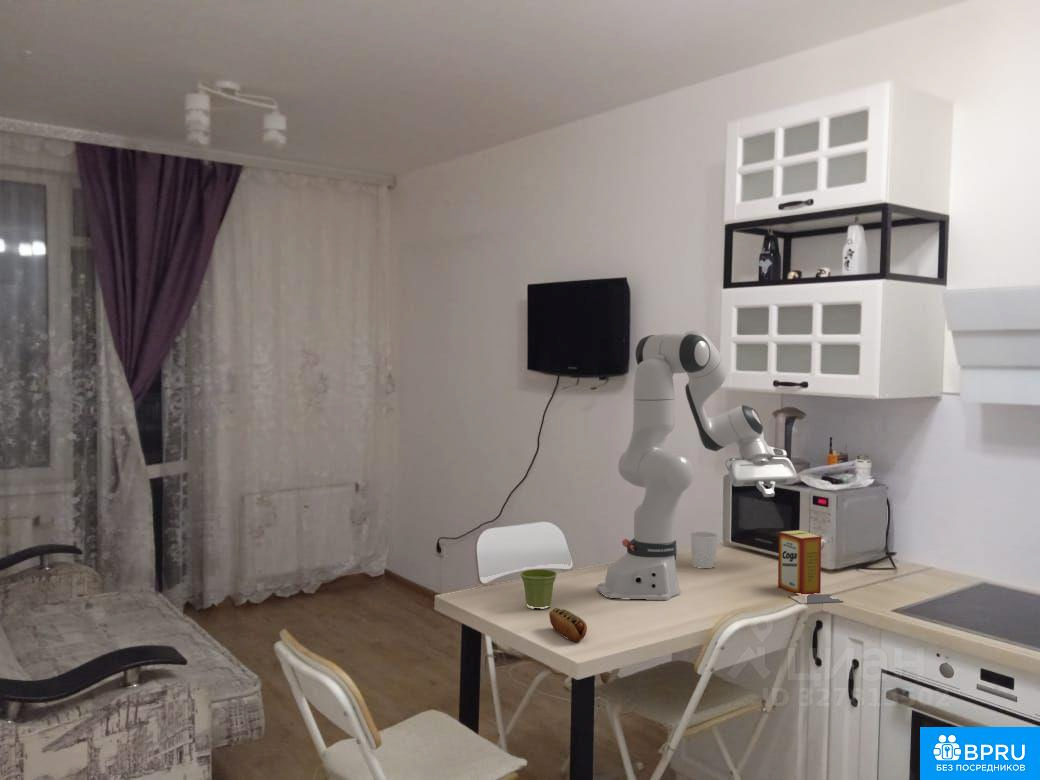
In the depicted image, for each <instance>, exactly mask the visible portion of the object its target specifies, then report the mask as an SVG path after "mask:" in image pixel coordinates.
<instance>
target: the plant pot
mask: <svg viewBox="0 0 1040 780" xmlns="http://www.w3.org/2000/svg"><path fill="white" fill-rule="evenodd" d="M557 576H558V573H557V572H556V571H554V570H551V569H545V568H544V569H543V568H542V569H541V568H537V569H535V568H533V569H526V570H523V571H521V572H520V577H521V579H522V582H523V587H524V594H525V602H526V603H525V604H526V605H527V604H528V605H529V606H533V607H545V606H550V605H552V597H553V590H554V584H555V581H556V577H557ZM550 607H551V606H550Z"/></svg>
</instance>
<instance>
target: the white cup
mask: <svg viewBox="0 0 1040 780" xmlns="http://www.w3.org/2000/svg"><path fill="white" fill-rule="evenodd" d="M717 537H718V535H717V533H714V532H709V531H694V532H691V533H690V543H691V544H690V546H691V547H690V549H691V560H692V561H691V563H692V564H691V565H693V566H696V567H701V568H710V569H713V568H712V567H714V566H715V564H716V558H717V557H716V555H717V541H718V539H717ZM693 566H692V567H693ZM696 567H695V568H696ZM701 568H700V569H701ZM714 568H715V567H714Z"/></svg>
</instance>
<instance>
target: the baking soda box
mask: <svg viewBox="0 0 1040 780" xmlns="http://www.w3.org/2000/svg"><path fill="white" fill-rule="evenodd" d="M777 559H778V562H777V563H778V565H777V566H778V569H777V571H778V574H777V575H778V576H777V577H778V578H777V580H778V581H777V584H778V585H777V588H779V589H782V590H783V591H786V592H790V593H792V594H794V595H797V594H796V593H801V594H814V593H820V594H821V587H822V586H821V585H822V584H821V581H822V579H821V578H822V575H821V574H822V573H821V571H822V568H821V567H822V536H820V535H817V534H813V533H809V532H807V531H803V530H799V529H797V530H785V531H778V558H777ZM814 595H815V594H814Z"/></svg>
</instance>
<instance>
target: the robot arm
mask: <svg viewBox="0 0 1040 780" xmlns="http://www.w3.org/2000/svg"><path fill="white" fill-rule="evenodd" d="M634 354H635V361H636V364H637V366H636V369H635V376H634V382H633V383H634V384H633V425H632V432H631V436H630V441H629V443H628V446H627V448H626V449H625V450H624V452H623V453H622V454H621V456H620V458H619V460H618V472H619V474H620V476H621V477H622V479H623V480H625V481H626V482H628V483H630V485H633V486H636V487H639V488H644V489H645V493H644V495H643V500H642V502H641V504H640V505H638V506H637V507H636V508H635V511H634V514H633V516H634V517H633V518H634V519H633V520H634V521H633V538H632V539H631V540H628V539H627V538H624V539H623V540H622V541H621V544H622V546H623V547H625V548H626V551H627V552H626V553H625V554H624V555H623V556H621V557H620V558H618V559H617V560H616V561H614V562H613V563H611V564H610V565H609V566H608V569H607V571H606V574H605V575H606V576H605V582H600V583H598V585H597V590H598V589H599V591H600V592H601V593H603V594H604V595H606V596H608V597H612V598H629V599H628V600H630V599H646V600H649V601H652V600H653V601H667V600H670V599H671V598H672V597H675V596H678V595H679V594H680V593H681V589H680V585H679V581H678V575H677V567H676V566H677V565H676V561H677V555H678V554H677V553H678V552H677V550H678V549H677V548H678V547H677V540H676V537H675V536H676V516H677V515H676V513H677V509H678V506H679V505H678V504H679V502H680V499H681V496H682V495H683V493H684V492H685V491H687V489H688V488H689V487H690V486H691V485H692V483H693V480H694V474H695V473H694V472H695V470H694V467H693V464H692V463H691V461H690V460H689V459H688V458H686V457H685V456H683V455H681V454H679V453H676V452H674V451H667V450H664V446H665V442H666V440H667V437H668V435H669V434H670V433H671V432H672V431H673V430H674V428H675V420H676V419H675V418H676V416H675V415H676V414H675V389H674V388H675V387H674V385H675V384H674V380H673V379H674V378H673V377H674V374H684V373H685V374H686V375H687V377H688V381H687V383H686V384H685V386H684V388H685V395H686V396H685V397H686V399H687V402H688V405H689V408H690V411H691V415H692V416H693V419H694V421H695V425H696V427H697V431H698V436H699V440H700V442H701V444H702V445H703V446H704V448H705V449H707V450H710V451H713V452H718V451H720V450H721V449H723V448H726V447H727V446H729V445H732V444H734V443H736V444H737V446H738V452H739V456H740V457H730V458H728V459H727V460H726V461H725V466H726V469H727V471H728V477H729V482H730V484H731V485H732V486H733V487H749V486H750V487H753V486H755V487H756V489H758V490H759V492H761V493H762V495H763V498H769V497H772V498H774V496H775V495H776V493H775V486H777V485H779V486H780V485H781V486H782V485H793V484H794V483H795V481H796V480H797V478H798V473H797V470H796V469H795V467H794V464H793V462H792V461H791V460H790V458H788V457H787V456H788V453H787V451H786V450H785V449H781V448H777V447H773V446H770V445H768V443H767V442H766V440H765V433H764V431H763V429H764V426H763V423H762V421H761V417H760V416H759V414H758V412H757V411H756V409H754V408H752V407H750V406H748V405H745V404H744V405H743V404H742V405H739V406H736V407H733V408H732V409H729V410H727V411H725V412H722V413H720V414H718V415H716V416H713V417H708V415H707V411H706V408H705V406H704V404H705V402H707V400H708V398H710V397H711V396H712V395H713V394H714V393H716V392H717V391H718V390H719V389H720V388H721V387H722V386H723V384H724V383H725V380H726V379H727V374H728V373H727V372H728V369H727V365H726V363H725V361H724V358H723V357H722V354H721V353H720V351H719V350H718V349H717V347H716V346H715V344H714V343H713V342H712V341H711V340H710V338H709V337H708V336H707V335H706V334H705V333H703V332H701V331H699V330H690V331H687V332H685V333H684V334H682V333H662V334H650V335H647V336H644V337H641V339H640V340H639V342H638V343H637V345H636V348H635V353H634ZM765 486H767V487H768V488H766V487H765ZM599 591H598V592H599ZM646 600H645V601H646Z"/></svg>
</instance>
